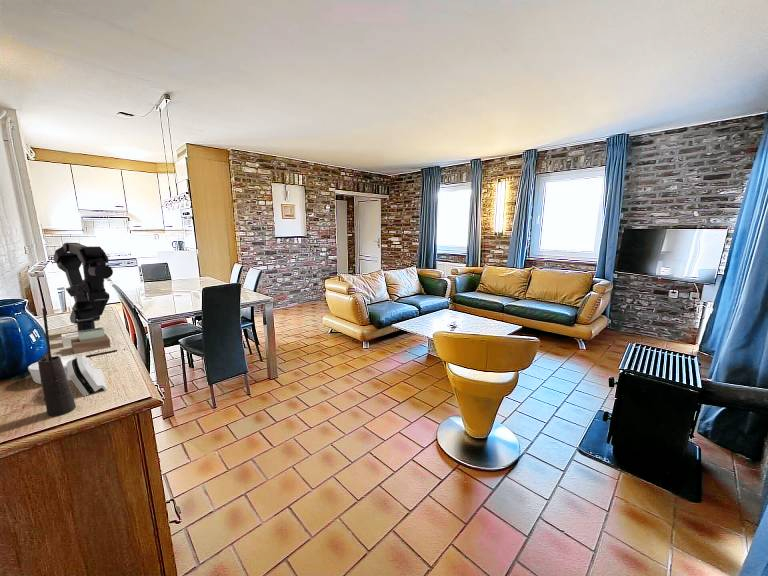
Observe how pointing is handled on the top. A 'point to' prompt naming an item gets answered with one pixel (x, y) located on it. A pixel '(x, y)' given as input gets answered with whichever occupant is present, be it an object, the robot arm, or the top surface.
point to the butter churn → (54, 381)
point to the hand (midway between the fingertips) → (98, 313)
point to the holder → (68, 338)
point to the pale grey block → (91, 334)
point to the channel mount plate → (91, 346)
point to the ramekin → (36, 374)
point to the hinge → (85, 375)
